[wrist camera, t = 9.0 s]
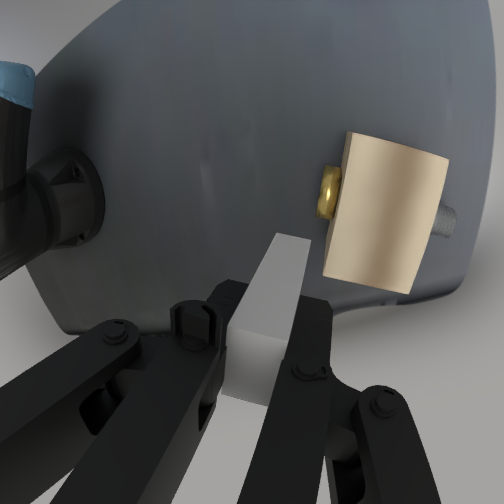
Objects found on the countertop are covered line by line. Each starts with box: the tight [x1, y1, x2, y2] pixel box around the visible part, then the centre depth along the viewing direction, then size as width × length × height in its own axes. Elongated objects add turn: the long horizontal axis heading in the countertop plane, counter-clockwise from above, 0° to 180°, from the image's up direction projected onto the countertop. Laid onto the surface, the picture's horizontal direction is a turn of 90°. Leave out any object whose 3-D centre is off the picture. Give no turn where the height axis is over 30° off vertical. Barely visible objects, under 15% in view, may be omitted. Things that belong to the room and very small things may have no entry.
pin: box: [315, 165, 456, 238], centre depth 27 cm, size 14×5×5 cm, turn 83°
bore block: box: [323, 131, 449, 294], centre depth 26 cm, size 8×12×9 cm, turn 173°
